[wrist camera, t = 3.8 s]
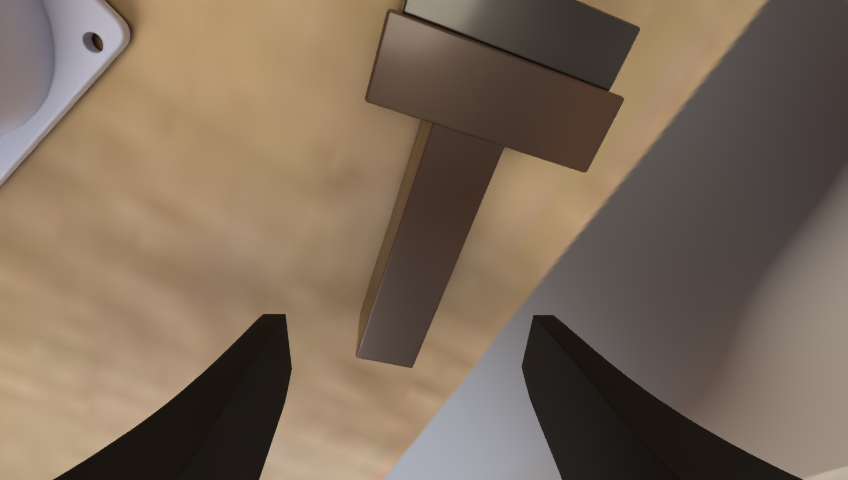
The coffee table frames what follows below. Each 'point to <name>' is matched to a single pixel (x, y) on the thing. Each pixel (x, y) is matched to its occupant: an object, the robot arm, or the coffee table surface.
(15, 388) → the coffee table surface
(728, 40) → the coffee table surface
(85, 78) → the robot arm
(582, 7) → the brush
